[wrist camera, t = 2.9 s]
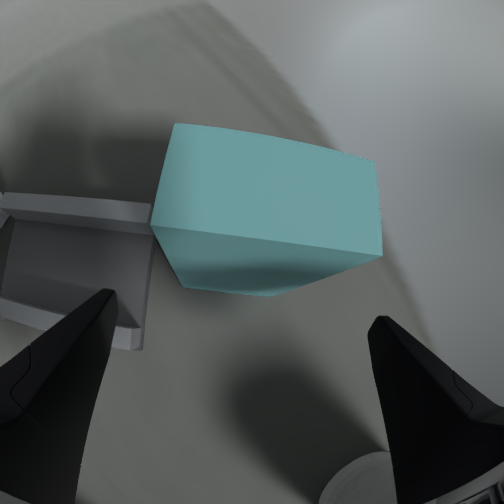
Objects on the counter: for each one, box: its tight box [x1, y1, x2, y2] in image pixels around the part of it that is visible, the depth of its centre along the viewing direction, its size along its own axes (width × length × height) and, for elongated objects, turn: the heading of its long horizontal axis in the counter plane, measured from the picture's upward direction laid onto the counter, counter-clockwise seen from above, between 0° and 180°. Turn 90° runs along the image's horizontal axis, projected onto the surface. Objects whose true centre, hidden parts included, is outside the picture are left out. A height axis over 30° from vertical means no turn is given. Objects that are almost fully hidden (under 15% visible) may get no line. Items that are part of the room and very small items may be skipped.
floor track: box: [0, 192, 156, 351], centre depth 16 cm, size 12×9×4 cm
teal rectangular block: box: [150, 123, 383, 297], centre depth 13 cm, size 6×3×13 cm, turn 85°
